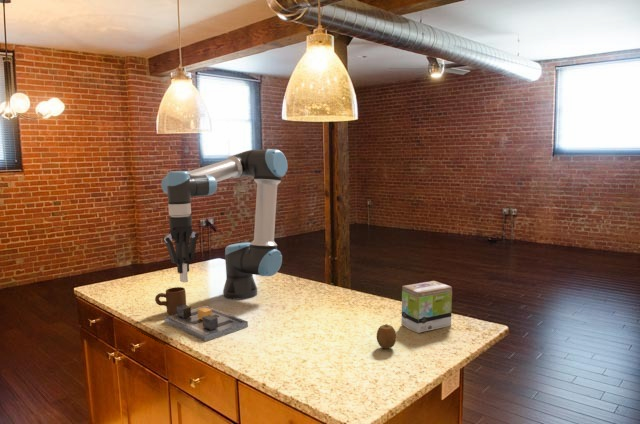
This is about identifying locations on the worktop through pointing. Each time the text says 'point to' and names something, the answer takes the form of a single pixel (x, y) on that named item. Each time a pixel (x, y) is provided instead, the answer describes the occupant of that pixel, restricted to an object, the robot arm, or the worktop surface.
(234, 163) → the robot arm
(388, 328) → the fruit
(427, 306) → the tea box
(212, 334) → the panel
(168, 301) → the mug
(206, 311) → the tall orange block
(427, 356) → the worktop surface
